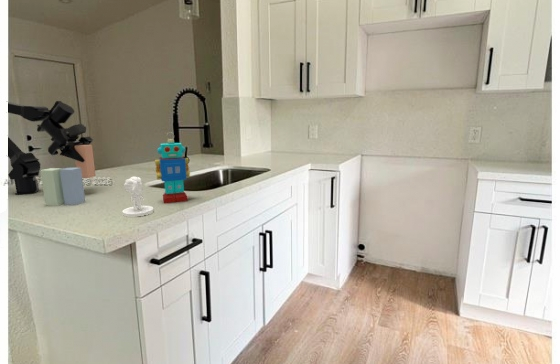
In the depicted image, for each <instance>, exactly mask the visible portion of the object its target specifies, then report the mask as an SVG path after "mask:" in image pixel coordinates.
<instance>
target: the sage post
mask: <svg viewBox="0 0 560 364" xmlns="http://www.w3.org/2000/svg"><path fill="white" fill-rule="evenodd" d="M61 169H63V168H61V167H60V168H58V167H57V168H56V167H50V168H45V169H40V170H39V173H40V179H41V185H42V191H43V196H44V197H43V198H44V203H45V204H44V205H45V206H54V207H55V206H56V207H58V206H60V205H63V204H64V205H65V202H64V195H63V188H62V182H61V175H60V170H61Z"/></svg>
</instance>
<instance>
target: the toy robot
mask: <svg viewBox="0 0 560 364" xmlns="http://www.w3.org/2000/svg"><path fill="white" fill-rule="evenodd" d="M169 133H171V134H173V132H172V131H169V132H167V134H166V135H168V134H169ZM174 138H175V136H173V138H168V139H167V142H166V143H160V147H158V148H157V151H156V152H157V153H158V154H160V155H161V156H160V157H159V158H158V159H155V160H154V164H155V173H156V180H157V181H158V180H161V182H163V183H164V193H163V194H162V200H163V203H164V204H169V203H170V204H171V203H181V202H188V195H187V193H186V192H185V188H184V186H185V185H184V181H185V180H187V178H190V176H191V172H190V170H189V169H190V167H189V157H184V156H183V153H185V152H186V147H185V146H183V145H182V143H181V142H175V140H174Z"/></svg>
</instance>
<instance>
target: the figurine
mask: <svg viewBox="0 0 560 364" xmlns="http://www.w3.org/2000/svg"><path fill="white" fill-rule="evenodd" d="M124 182H125V183H124V184H123V186H124V188H125V191H126V192H127V193H129V194H131V196H130V197H131V198H130V199H131V200H130V202H131V203H132V204H133V205H132V206H130V207H127V208H124V209H123V210H122V216H123V215H124V216H123V217H125V216H127V217H126V218H138V217H137V216H141V217H145V216H144V215H146V216H149V215H152V214H153V213H154V207H153V206H151V205H142V200H143V201H145V198H144V196H142V194H143V192H144V186H143V183H142V182H143V181H142V178H141V177H139V176H131V177H130V178H128V179H127V178H126V179H125V181H124ZM148 214H149V215H148Z"/></svg>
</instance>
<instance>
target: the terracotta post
mask: <svg viewBox="0 0 560 364" xmlns="http://www.w3.org/2000/svg"><path fill="white" fill-rule="evenodd" d="M74 147H75V150H76V151H77V152H78V153H79V154H80V155H81V156H82V157H83V159H84V160H85V161H84V162H80V161H77V160H75V159H74V162H75V168H81V172H82V179H90V178H94V177H96V176H97V175H96V169H95V159H94V150H93V149H94V148H93V144H90V145H76V146H74Z"/></svg>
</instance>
